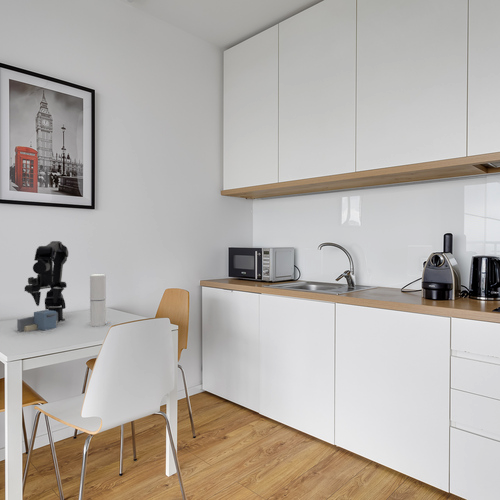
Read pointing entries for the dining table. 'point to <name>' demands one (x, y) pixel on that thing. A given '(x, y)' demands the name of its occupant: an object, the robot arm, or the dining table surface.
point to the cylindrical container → (97, 300)
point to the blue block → (45, 319)
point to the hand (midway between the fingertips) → (46, 304)
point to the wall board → (29, 323)
